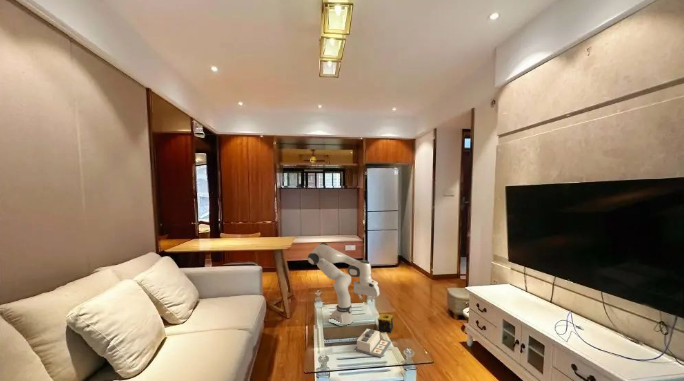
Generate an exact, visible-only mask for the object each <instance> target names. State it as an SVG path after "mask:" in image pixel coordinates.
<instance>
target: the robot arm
mask: <svg viewBox="0 0 684 381" xmlns="http://www.w3.org/2000/svg"><path fill="white" fill-rule="evenodd" d="M307 261H308V263H310V264H311V265H312V266H314V265H317V268H318V269H319V270H320V271H321V272H322V273H323V274H324V275H325V276H326V277H327V278H328V279H331V280H333V281H334V284H333V289H334V291H335V292H336V296H337V305H335V310H334V311H332V313H331V314H330V318H331V319H334V320H336V321H338V322H340V323H342V324H350V323H351V322H352V321H353V320H354V318H353V317H354V316H353V313H352V311H353V308H352V302H351V300H352V299H351V295H350V292H349V286H350V285H351V283H352V278H359V280H354V281H353V293H354V294H356V295H358V297H359V300H361V301H362V300H363V296H362V295H364V296H368V297H369V296H370V297H371V299H370V301H371V302H372V303H373V302H374V301H375V300H374V299H375V298H378V296H380V288H379V287H380V286H378V285H379V283H378V281H376V280H374V279H373V278H372V265H371V263H370V261H368V260H366V259H361V260H360V259H356V258H354V257H352V256H350V255H349V254H346V253H343V252H341V251H339V250H336V249H335V248H333V247H331V246H330V245H329V244H328V243H327V242H321V243H319V244H318V245H317V246H316V247H315V248H314V249H313V250H312V251H311V252H310V253H308V255H307ZM336 263H337V264H338V263H345V264H348V265H349V266H348V267H347V273H346V272H344V271H342V270H341V269H340V268H338V267H337V266H336V265H334V264H336ZM371 302H370V303H371Z"/></svg>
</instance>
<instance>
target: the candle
mask: <svg viewBox="0 0 684 381" xmlns="http://www.w3.org/2000/svg"><path fill="white" fill-rule="evenodd" d="M393 319H394V318H393V314H387V313H386V314H385V313H380V314H379V317H378V318H377V323H378V325H377V327H378V328H377V331H379V333H385V332H387V333H386V334H391V333H392V332H393V328H394V322H393Z"/></svg>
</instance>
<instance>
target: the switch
mask: <svg viewBox="0 0 684 381" xmlns="http://www.w3.org/2000/svg"><path fill="white" fill-rule="evenodd" d="M371 336H372V332H368V331H367V332H366V333H365V337H368V338H370V337H371Z"/></svg>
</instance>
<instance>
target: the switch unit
mask: <svg viewBox="0 0 684 381" xmlns="http://www.w3.org/2000/svg"><path fill="white" fill-rule="evenodd" d="M369 330H372V329H370V328H366V329H365V331H363V333H361V335H360V336H359V337H358V338H357V340H356V346H355V347H354V348H353V351H354V350H356V351H355V352H358V353H360V354H361V353H362V354H365V355H369V356H373V357H376V358H379V359H381V358H383V356H384V354H385V352H386V351H387V350H388V348H389V347H390V345H391V344H392V341H391V340H386V339H382V338H381V336H380V333H381V332H379V331H378V330H375V332H374V333H373V334H372V336H371V337H370V338H368V337H366V338H368V341H367V342H364V341H362V338H363V337H365V333H366V332H367V331H368V332H369Z"/></svg>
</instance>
